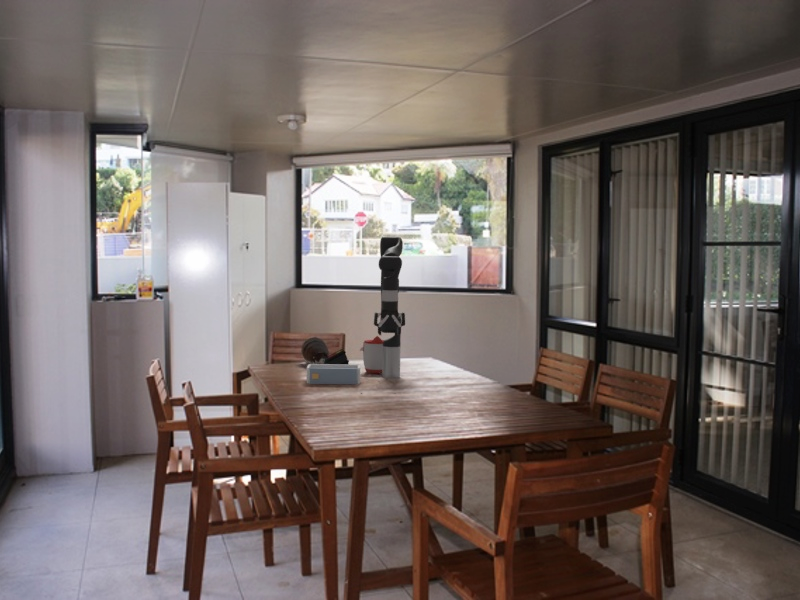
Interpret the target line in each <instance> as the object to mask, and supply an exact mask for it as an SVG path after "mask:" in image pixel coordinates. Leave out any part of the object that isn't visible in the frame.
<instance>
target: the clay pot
mask: <svg viewBox="0 0 800 600" xmlns="http://www.w3.org/2000/svg"><path fill="white" fill-rule="evenodd" d="M301 355H302V358H303V361H304V362H305V364H306V365H308V364H326V362H325V361H324V360H325V359H324V358H326V357H328V356H329V355H330V352H329V349H328V346H327V344H326V342H325V341H324V340H323V339H322V338H319V337H316V336H315V337H310V338H308V339H306V340H304V341H303V344H302V346H301Z"/></svg>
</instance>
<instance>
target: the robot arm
mask: <svg viewBox="0 0 800 600" xmlns="http://www.w3.org/2000/svg"><path fill="white" fill-rule="evenodd" d="M379 245H380V246H379V248H380V249H379V251H380V252H379V253H380V258H379V260H378V268H379V269H380V300H381V301H380V312H374V315H373V317H374V318H373V325H374V327H375V326H376V327H377V333H378V336H382V333H385V334H394V335H393V336H391V337H390V338H387V339H383V340H384V341H383V362H382V374H381V375H382V378H386V379H398V378H401V345H402V343H401V339H402V338H401V337H402V327H403V326H405V325H406V313H405V312H399V293H400V278H399V276H400V272H401V270H402V266H403V260H402V258H401V257H400V256H401V255H402V253H403V249H404V247H403V246H404V245H403V239H402V238H401V237H400V236H382V237H381V238H380V243H379ZM378 318H380V320H379V322H378Z"/></svg>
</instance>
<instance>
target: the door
mask: <svg viewBox="0 0 800 600" xmlns="http://www.w3.org/2000/svg"><path fill="white" fill-rule="evenodd" d="M309 385H358V384H357V368H310V382H309Z"/></svg>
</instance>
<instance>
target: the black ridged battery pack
mask: <svg viewBox="0 0 800 600" xmlns="http://www.w3.org/2000/svg"><path fill="white" fill-rule="evenodd" d="M346 353H347V351H345V350H344V349H343V348H341V349H340V350H339V349H338V350H337V351H335V352H333V353H332V354H329V356H328V357H326V358H324V359H325V360H324V361H325V362H326V364H342V365H350V364H349V363H350V360H349V359H348V357H347V354H346Z"/></svg>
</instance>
